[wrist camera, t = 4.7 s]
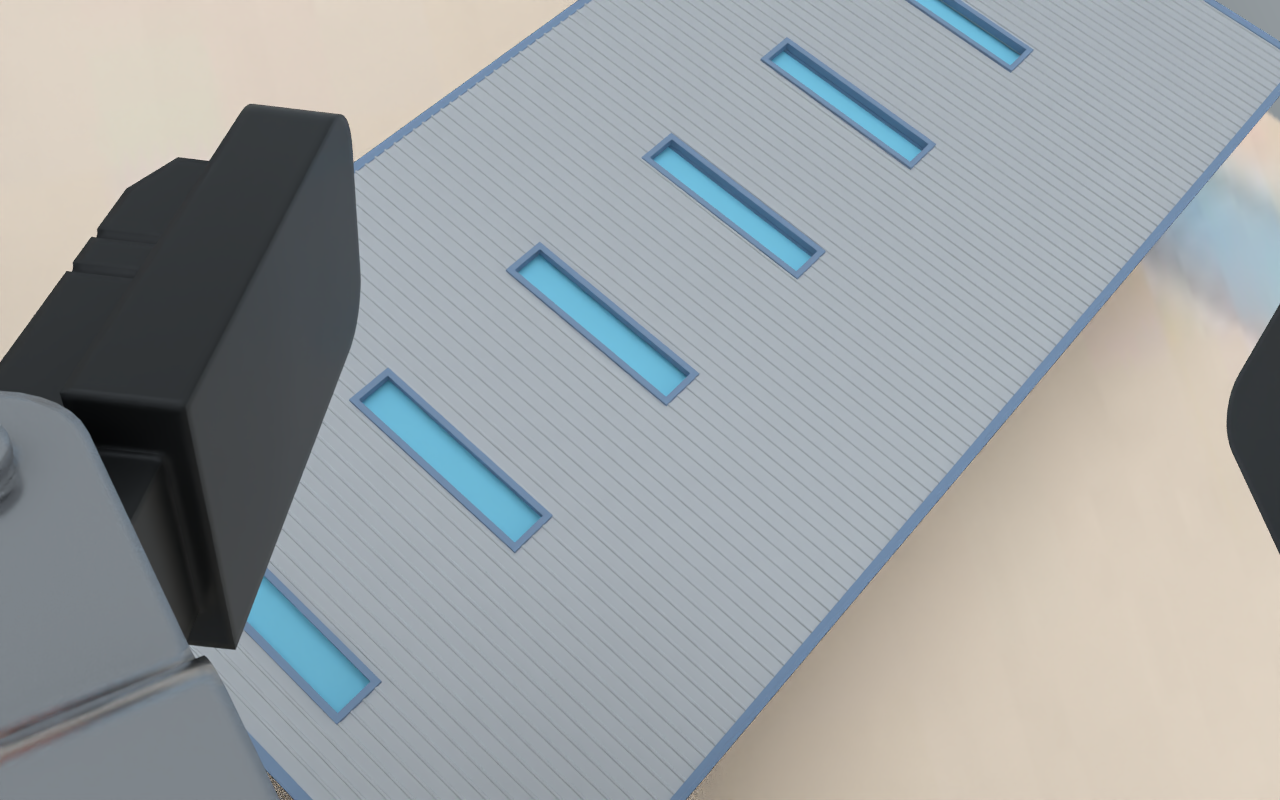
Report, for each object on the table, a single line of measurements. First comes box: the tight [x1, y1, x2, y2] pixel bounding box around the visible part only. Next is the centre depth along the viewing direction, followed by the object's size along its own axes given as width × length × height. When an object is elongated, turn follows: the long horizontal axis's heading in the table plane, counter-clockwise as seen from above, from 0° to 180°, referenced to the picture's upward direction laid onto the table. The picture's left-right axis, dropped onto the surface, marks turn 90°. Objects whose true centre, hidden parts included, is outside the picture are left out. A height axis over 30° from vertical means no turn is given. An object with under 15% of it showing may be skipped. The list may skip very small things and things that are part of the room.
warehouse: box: [189, 0, 1280, 800], centre depth 29 cm, size 30×14×8 cm, turn 137°
